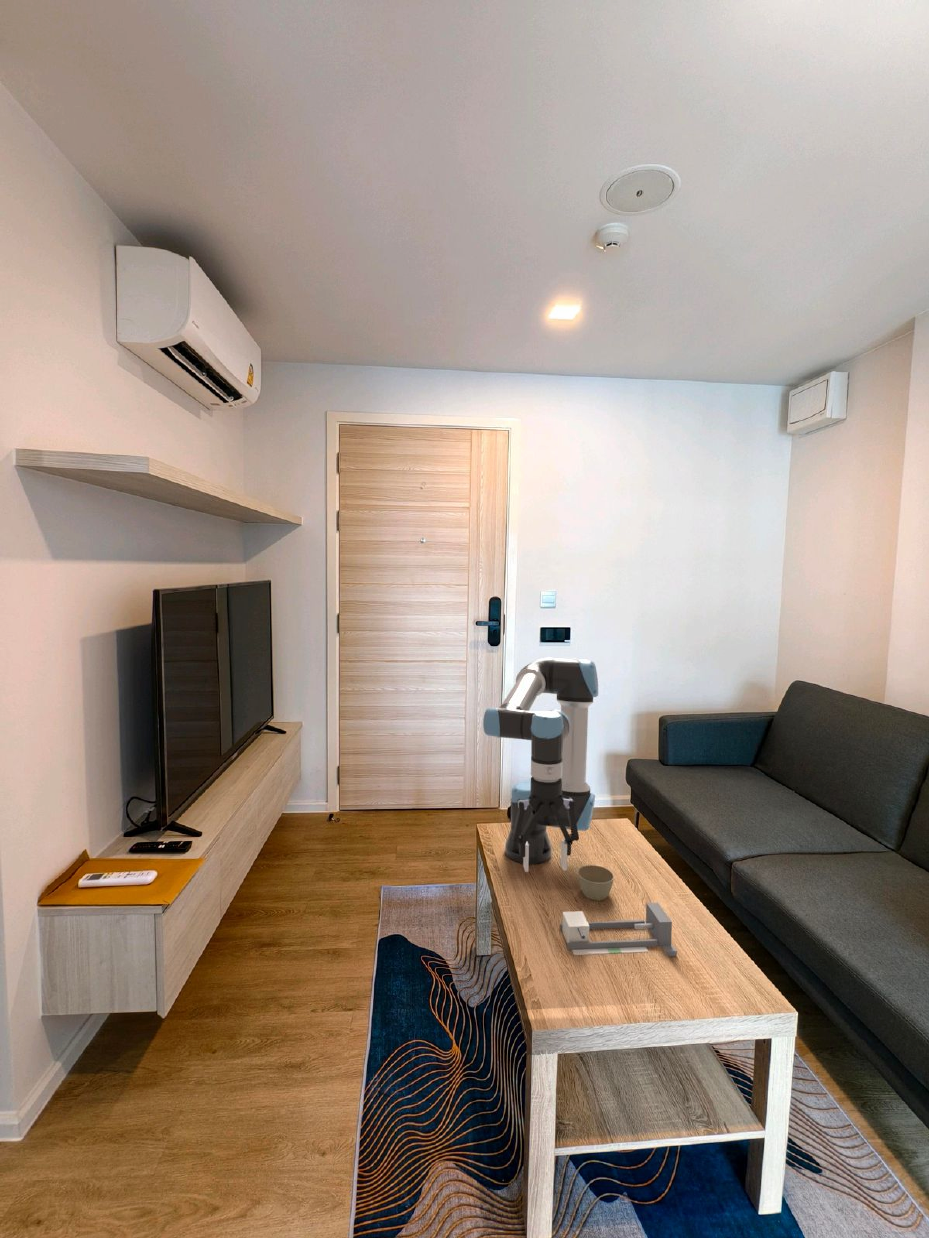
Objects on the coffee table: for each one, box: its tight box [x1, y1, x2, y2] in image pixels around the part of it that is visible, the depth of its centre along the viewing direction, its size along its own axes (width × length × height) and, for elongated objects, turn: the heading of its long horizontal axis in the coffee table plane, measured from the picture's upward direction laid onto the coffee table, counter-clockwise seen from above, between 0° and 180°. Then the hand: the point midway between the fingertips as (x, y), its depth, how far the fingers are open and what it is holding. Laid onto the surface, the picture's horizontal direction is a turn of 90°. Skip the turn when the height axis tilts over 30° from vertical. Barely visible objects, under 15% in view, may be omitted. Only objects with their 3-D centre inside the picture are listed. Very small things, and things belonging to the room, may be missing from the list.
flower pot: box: [577, 864, 615, 901], centre depth 154 cm, size 10×10×7 cm
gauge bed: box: [558, 902, 678, 957], centre depth 135 cm, size 12×28×7 cm, turn 94°
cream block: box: [561, 910, 590, 944], centre depth 133 cm, size 10×5×5 cm, turn 4°
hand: (544, 868), depth 133 cm, fingers open, 9 cm apart
